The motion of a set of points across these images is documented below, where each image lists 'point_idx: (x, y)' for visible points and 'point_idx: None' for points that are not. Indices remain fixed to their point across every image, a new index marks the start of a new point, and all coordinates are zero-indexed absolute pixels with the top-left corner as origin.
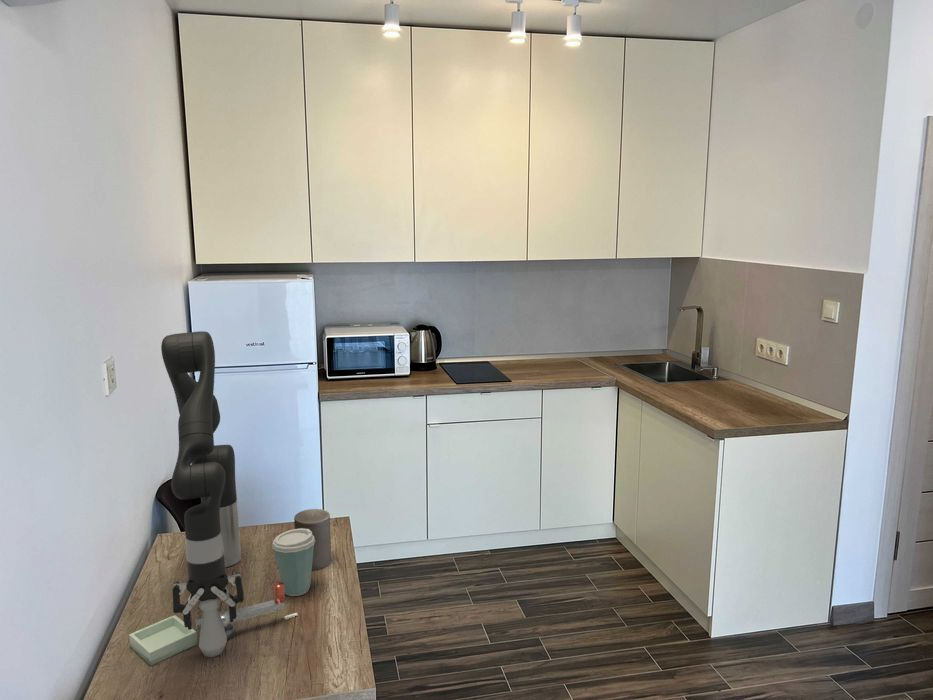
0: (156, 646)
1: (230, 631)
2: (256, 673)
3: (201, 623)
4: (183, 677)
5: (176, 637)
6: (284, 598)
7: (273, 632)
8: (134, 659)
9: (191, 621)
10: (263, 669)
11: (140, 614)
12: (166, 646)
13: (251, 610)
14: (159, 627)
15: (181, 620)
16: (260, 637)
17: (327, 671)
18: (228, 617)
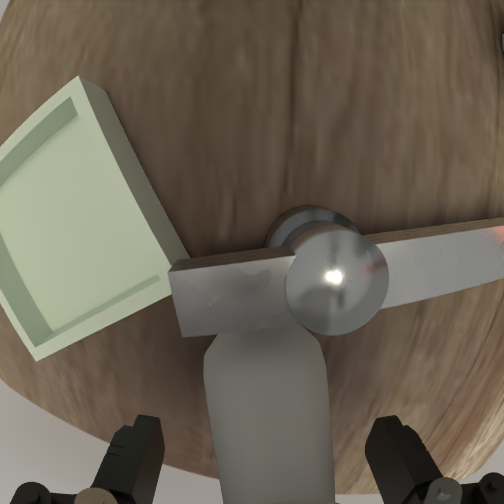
0: (44, 258)
1: None
2: (362, 456)
3: (215, 453)
4: (170, 429)
5: (101, 216)
6: None
7: None
8: None
9: (153, 449)
10: None
11: (26, 5)
12: (74, 341)
13: (476, 281)
14: (33, 141)
15: (103, 137)
16: (428, 306)
17: (467, 450)
18: (370, 315)
